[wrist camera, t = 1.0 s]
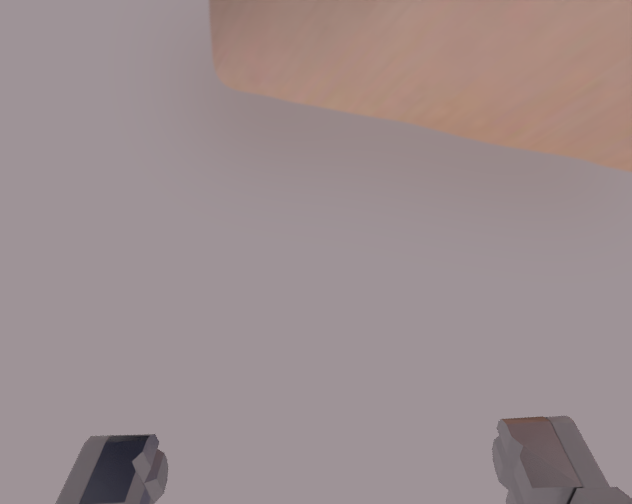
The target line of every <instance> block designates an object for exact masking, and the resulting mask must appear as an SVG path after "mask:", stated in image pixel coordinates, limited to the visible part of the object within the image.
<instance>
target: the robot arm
mask: <svg viewBox="0 0 632 504" xmlns="http://www.w3.org/2000/svg"><path fill="white" fill-rule="evenodd" d="M497 430H498V433H499V436H498V437H497V438H496V439H494V442H493V448H492V450H493V451H492V452H493V462H494V467H495V471H496V474H497V477H498V480H499V482H500V483H501V484H502V485H503V486H505V487H506V488H507V489H508V490H509V491H508V495H507V498H506V504H632V498H630V497H629V496H628V495H627V494H625V493H624V492H623V491H621V490H620V489H619V488H618V487H610V486H609V484H608V482H607V481H606V479H605V477H604V475H603V473H602V472H601V470H600V468H599V466H598V464H597V463H596V461H595V459H594V457H593V455H592V453H591V452H590V450H589V448H588V446H587V444H586V443H585V441H584V439H583V437H582V435H581V433H580V432H579V430H578V428H577V426H576V424H575V423H574V421H573V420H572V419H571V418H570V417H568V416H558V417H528V418H513V419H512V418H511V419H501V420H500V421H499V422H498V426H497ZM158 445H159V441H158V439H157V437H156V435H155V434H145V435H118V436H117V435H116V436H114V435H107V436H91V437H90V438H89V439H88V440H87V441H86V442H85V443H84V445H83V447H82V449H81V451H80V454H79V456H78V458H77V460H76V462H75V464H74V466H73V468H72V470H71V472H70V474H69V476H68V478H67V480H66V483H65V485H64V487H63V489H62V491H61V493H60V495H59V497H58V499H57V501H56V503H55V504H154V503H155V502H156V501H157V500H158V499H159V498H160V497H161V496H162V494H163V493H164V490H165V486H166V483H167V475H168V464H167V459H166V456H165V454H164V453H163V452H162V451H160V450H158V449H157V448H158Z"/></svg>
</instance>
